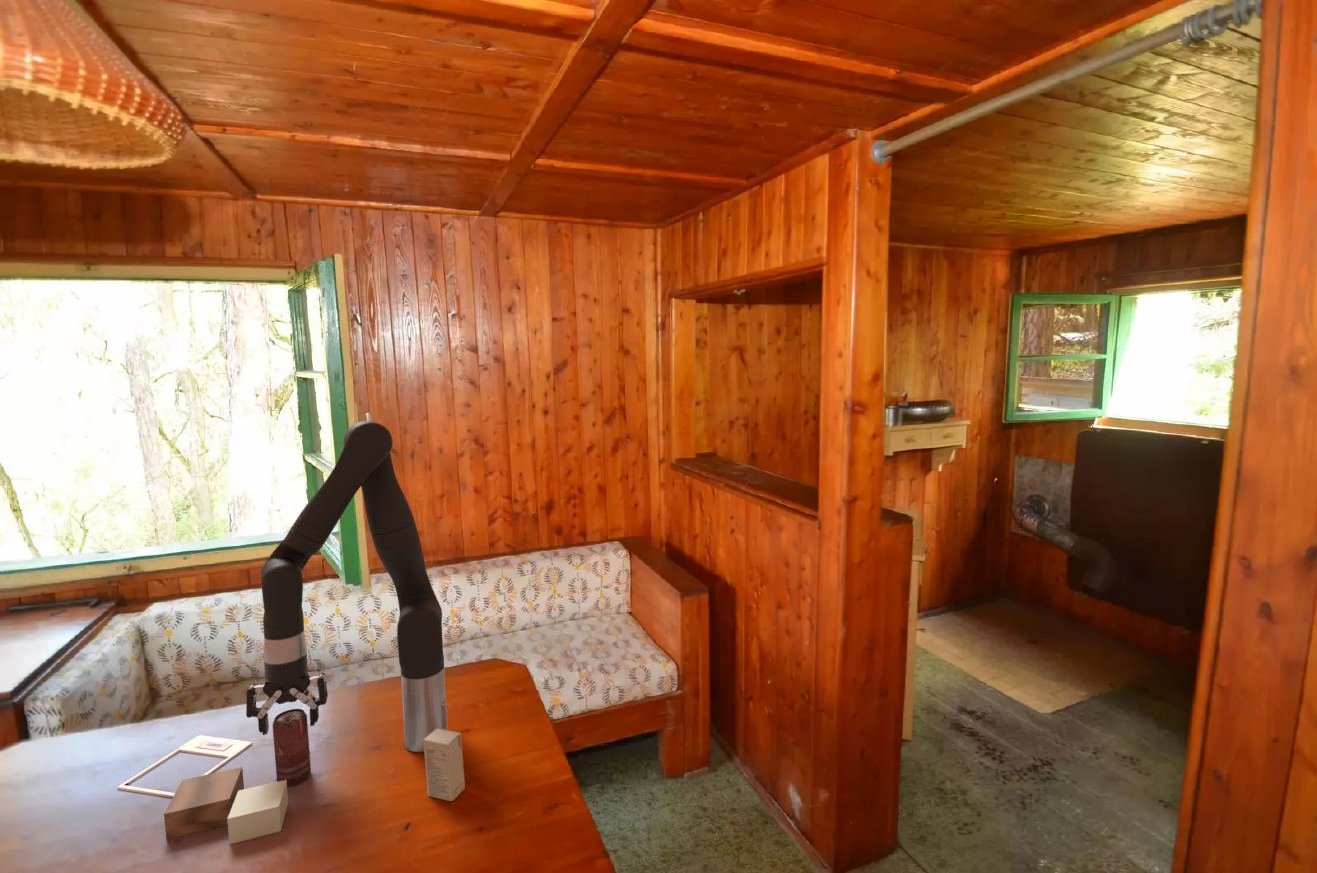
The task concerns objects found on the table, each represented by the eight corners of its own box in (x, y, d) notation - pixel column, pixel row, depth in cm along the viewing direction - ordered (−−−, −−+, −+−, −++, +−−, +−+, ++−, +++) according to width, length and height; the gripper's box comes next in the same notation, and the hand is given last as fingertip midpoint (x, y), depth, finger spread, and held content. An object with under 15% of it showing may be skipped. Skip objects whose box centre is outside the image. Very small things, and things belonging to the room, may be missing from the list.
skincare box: (465, 788, 124) (463, 732, 122) (452, 803, 120) (449, 745, 118) (439, 781, 126) (437, 726, 125) (425, 795, 122) (422, 738, 120)
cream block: (288, 803, 120) (286, 779, 119) (280, 831, 113) (278, 806, 112) (240, 814, 117) (238, 790, 116) (229, 844, 110) (227, 819, 109)
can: (296, 790, 124) (291, 725, 122) (270, 786, 125) (264, 722, 123) (318, 770, 130) (314, 709, 128) (293, 767, 131) (288, 706, 129)
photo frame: (252, 741, 139) (176, 795, 121) (252, 746, 139) (177, 800, 121) (199, 734, 142) (117, 786, 124) (199, 738, 142) (117, 791, 124)
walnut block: (244, 789, 124) (242, 767, 123) (231, 823, 115) (229, 799, 114) (184, 803, 120) (182, 780, 119) (166, 839, 111) (163, 814, 110)
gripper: (327, 641, 131) (330, 712, 132) (249, 651, 125) (253, 725, 127) (322, 656, 124) (326, 731, 125) (239, 668, 118) (244, 746, 120)
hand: (289, 728), depth 126 cm, fingers open, 8 cm apart
